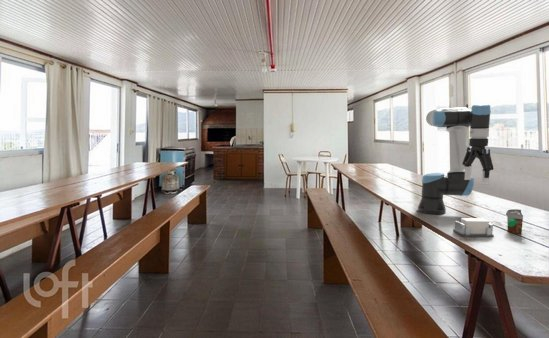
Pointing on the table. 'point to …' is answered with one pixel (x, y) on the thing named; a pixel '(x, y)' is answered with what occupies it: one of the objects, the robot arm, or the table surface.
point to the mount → (464, 231)
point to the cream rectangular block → (476, 225)
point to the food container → (514, 221)
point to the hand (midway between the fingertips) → (475, 182)
